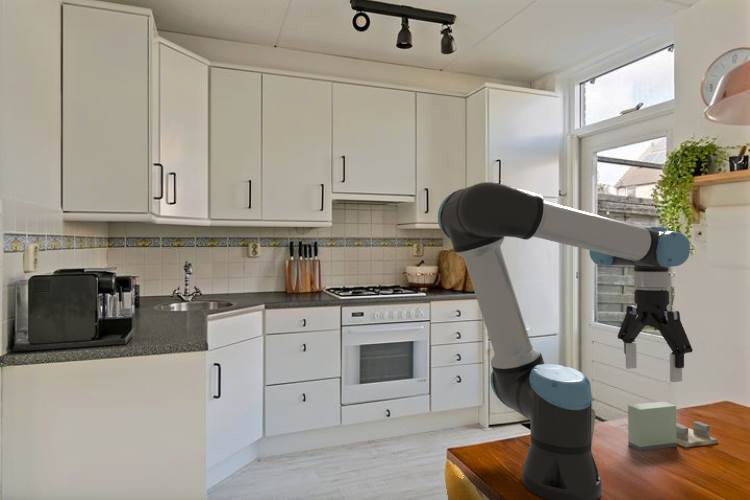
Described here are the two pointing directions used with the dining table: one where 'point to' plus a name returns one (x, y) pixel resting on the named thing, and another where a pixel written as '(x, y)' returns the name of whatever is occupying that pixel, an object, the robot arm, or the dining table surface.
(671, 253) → the robot arm
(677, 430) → the hinge bracket
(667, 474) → the dining table surface
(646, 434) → the door panel
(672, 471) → the dining table surface
